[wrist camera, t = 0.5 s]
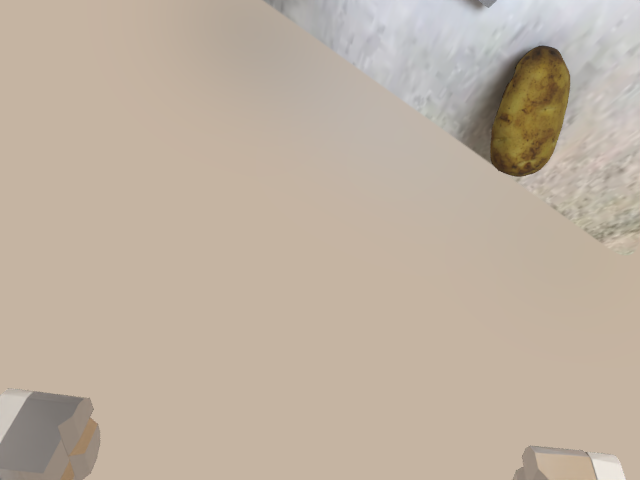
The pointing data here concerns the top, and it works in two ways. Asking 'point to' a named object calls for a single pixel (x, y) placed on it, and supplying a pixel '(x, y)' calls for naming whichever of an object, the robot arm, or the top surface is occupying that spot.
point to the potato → (531, 113)
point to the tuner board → (487, 2)
